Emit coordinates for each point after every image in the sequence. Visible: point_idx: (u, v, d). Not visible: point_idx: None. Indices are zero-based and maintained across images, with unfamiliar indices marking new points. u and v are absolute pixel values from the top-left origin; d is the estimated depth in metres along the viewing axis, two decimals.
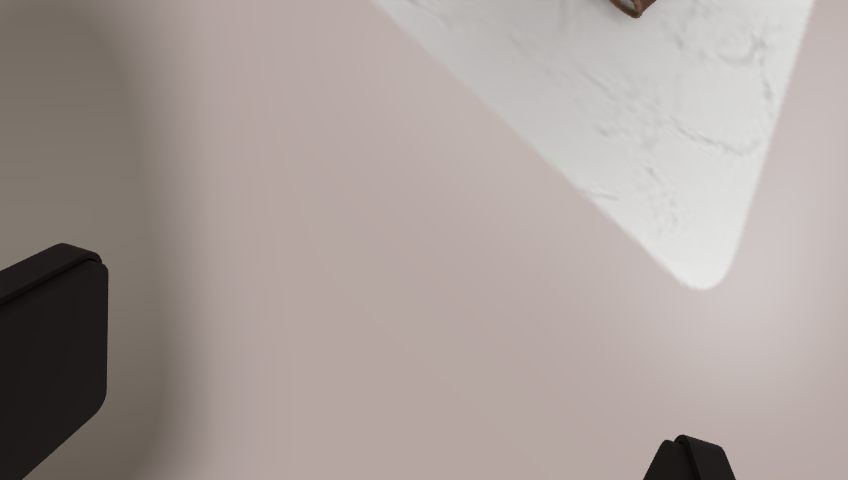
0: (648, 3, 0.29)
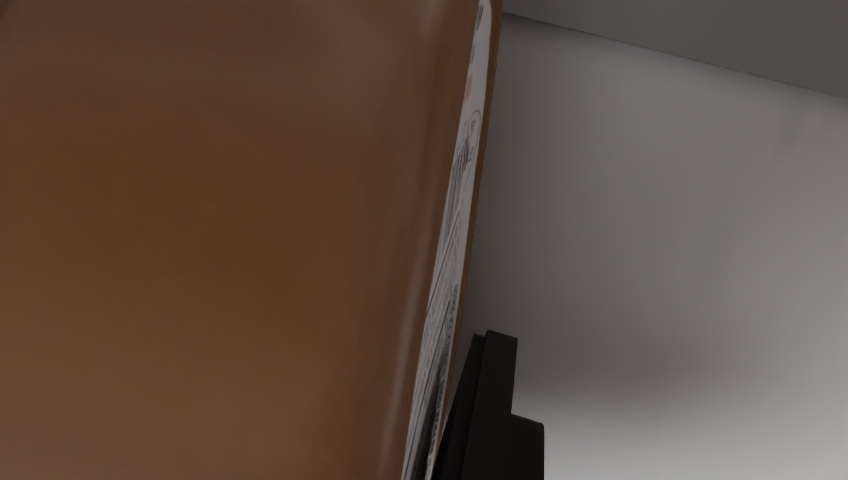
0: None
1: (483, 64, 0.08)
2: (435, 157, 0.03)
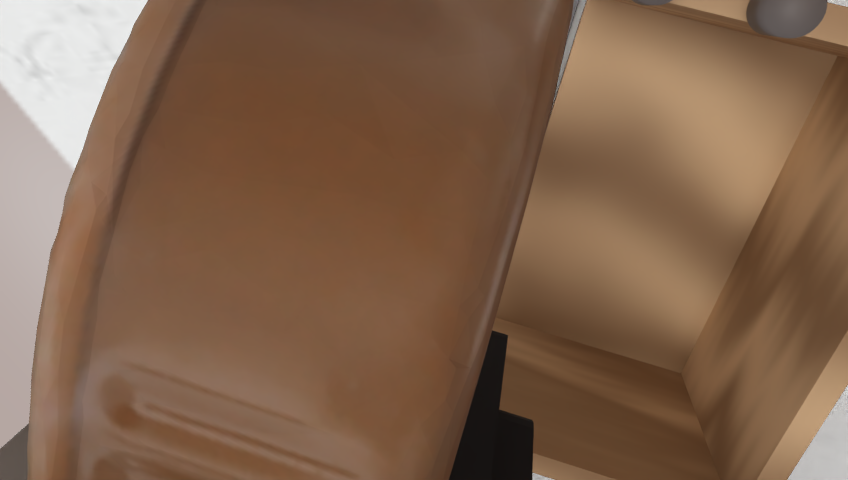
0: None
1: None
2: (536, 132, 0.04)
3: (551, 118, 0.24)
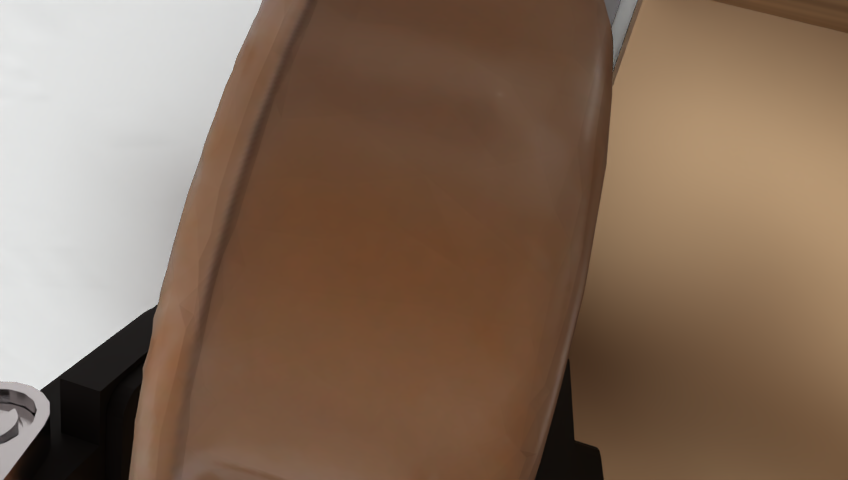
0: None
1: None
2: (590, 231, 0.04)
3: None
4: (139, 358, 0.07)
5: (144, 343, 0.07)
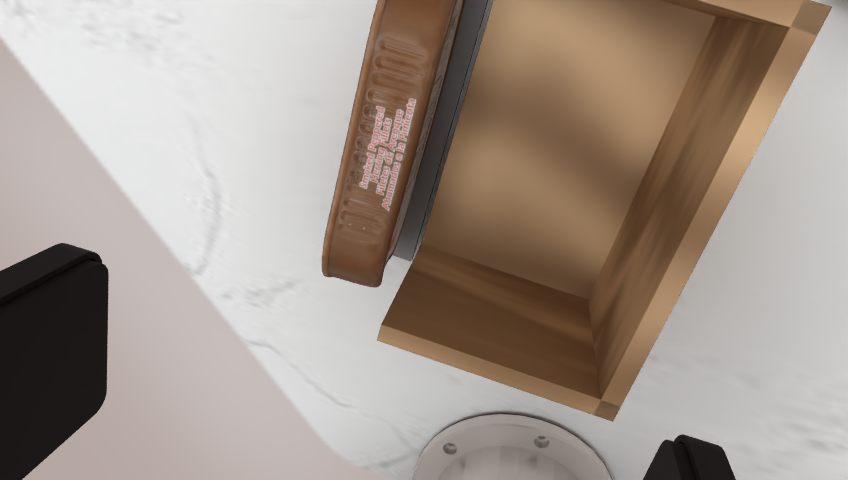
0: None
1: None
2: None
3: (475, 65, 0.28)
4: None
5: None
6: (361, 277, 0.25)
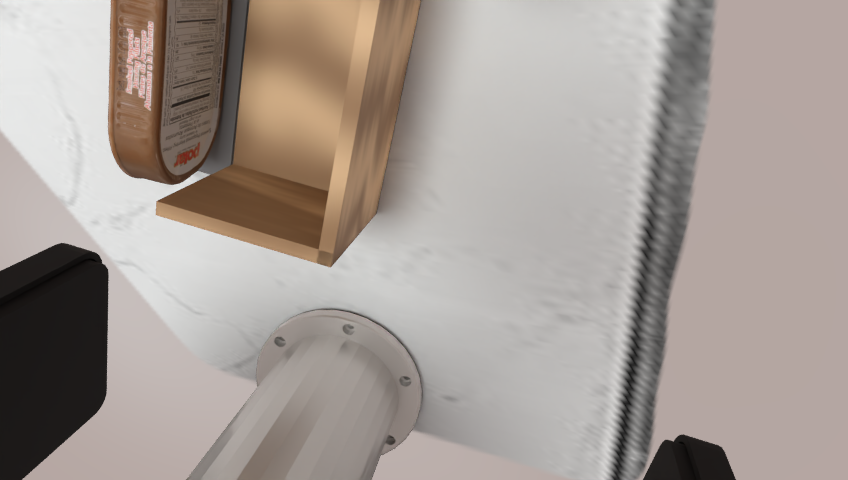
0: (145, 178, 0.35)
1: None
2: None
3: (249, 13, 0.36)
4: None
5: None
6: (147, 170, 0.33)
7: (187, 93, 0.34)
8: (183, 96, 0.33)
